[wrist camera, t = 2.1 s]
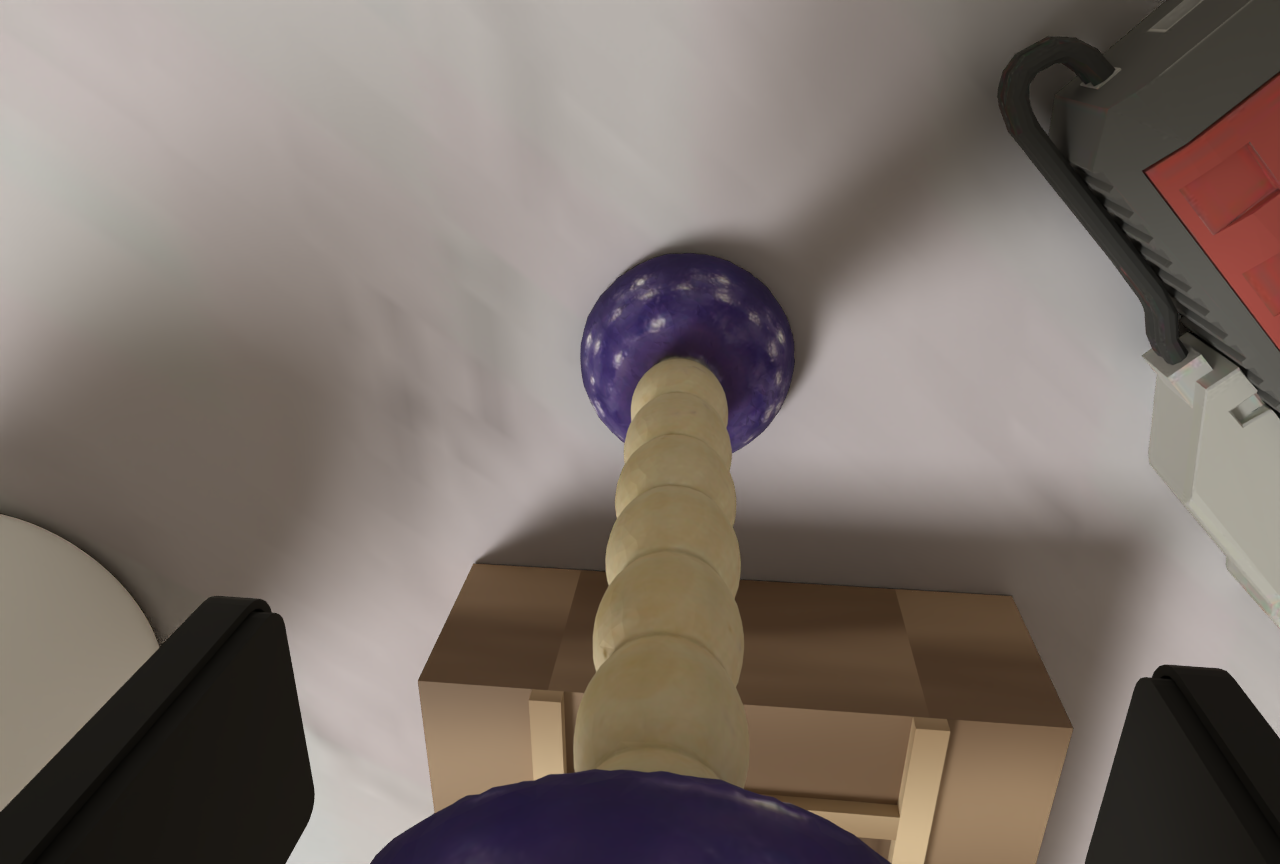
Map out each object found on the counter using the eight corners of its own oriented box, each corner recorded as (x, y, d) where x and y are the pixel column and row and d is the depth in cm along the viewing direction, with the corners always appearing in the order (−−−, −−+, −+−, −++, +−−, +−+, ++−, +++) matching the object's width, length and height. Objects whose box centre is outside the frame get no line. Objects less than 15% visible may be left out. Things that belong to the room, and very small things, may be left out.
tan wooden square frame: (473, 563, 21) (412, 691, 17) (1011, 595, 20) (1078, 740, 16) (504, 915, 26) (463, 1075, 22) (932, 956, 25) (968, 1131, 21)
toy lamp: (848, 282, 17) (1657, 2291, 2) (785, 492, 19) (960, 2272, 4) (601, 231, 17) (-380, 1832, 2) (565, 445, 19) (-64, 2036, 4)
